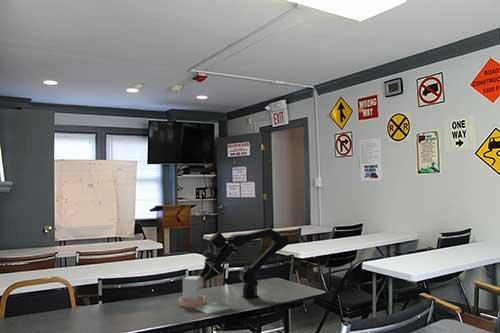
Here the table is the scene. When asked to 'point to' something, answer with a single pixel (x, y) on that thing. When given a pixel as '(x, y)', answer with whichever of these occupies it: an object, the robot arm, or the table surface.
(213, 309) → the sage mat
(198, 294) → the supplement box
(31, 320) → the table surface
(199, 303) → the terracotta ring
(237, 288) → the table surface
